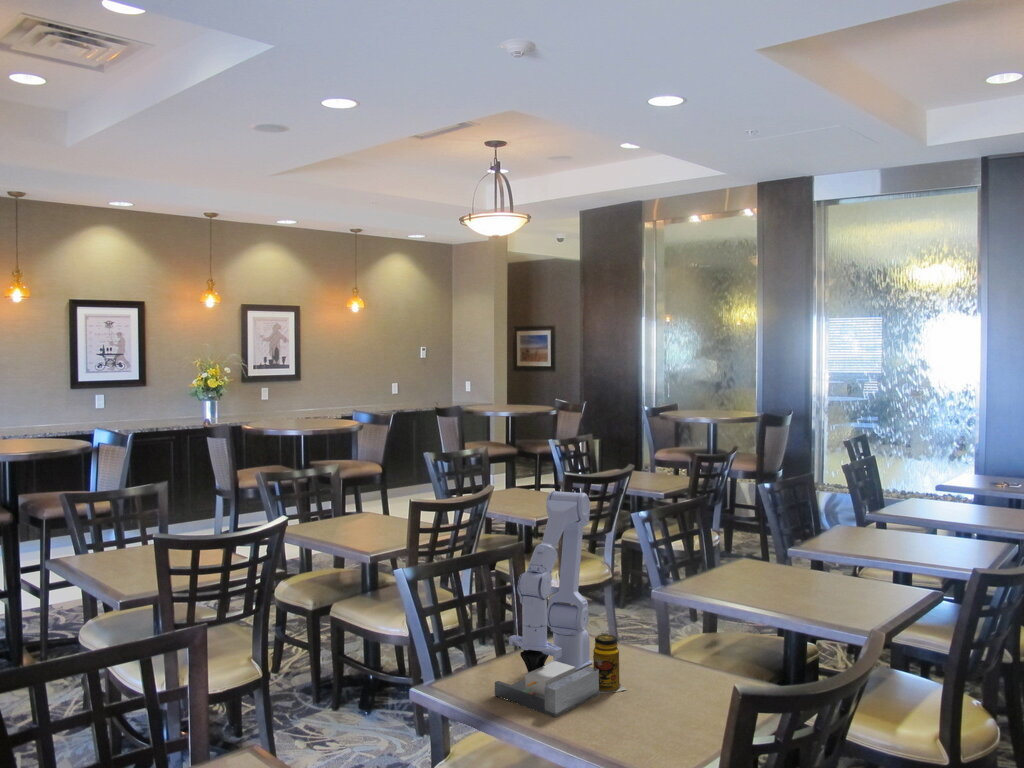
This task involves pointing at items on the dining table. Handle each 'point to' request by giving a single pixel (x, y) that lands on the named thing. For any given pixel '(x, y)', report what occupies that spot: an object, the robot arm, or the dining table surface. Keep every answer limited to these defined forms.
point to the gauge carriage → (547, 676)
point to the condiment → (607, 663)
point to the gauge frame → (554, 692)
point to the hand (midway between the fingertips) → (535, 681)
